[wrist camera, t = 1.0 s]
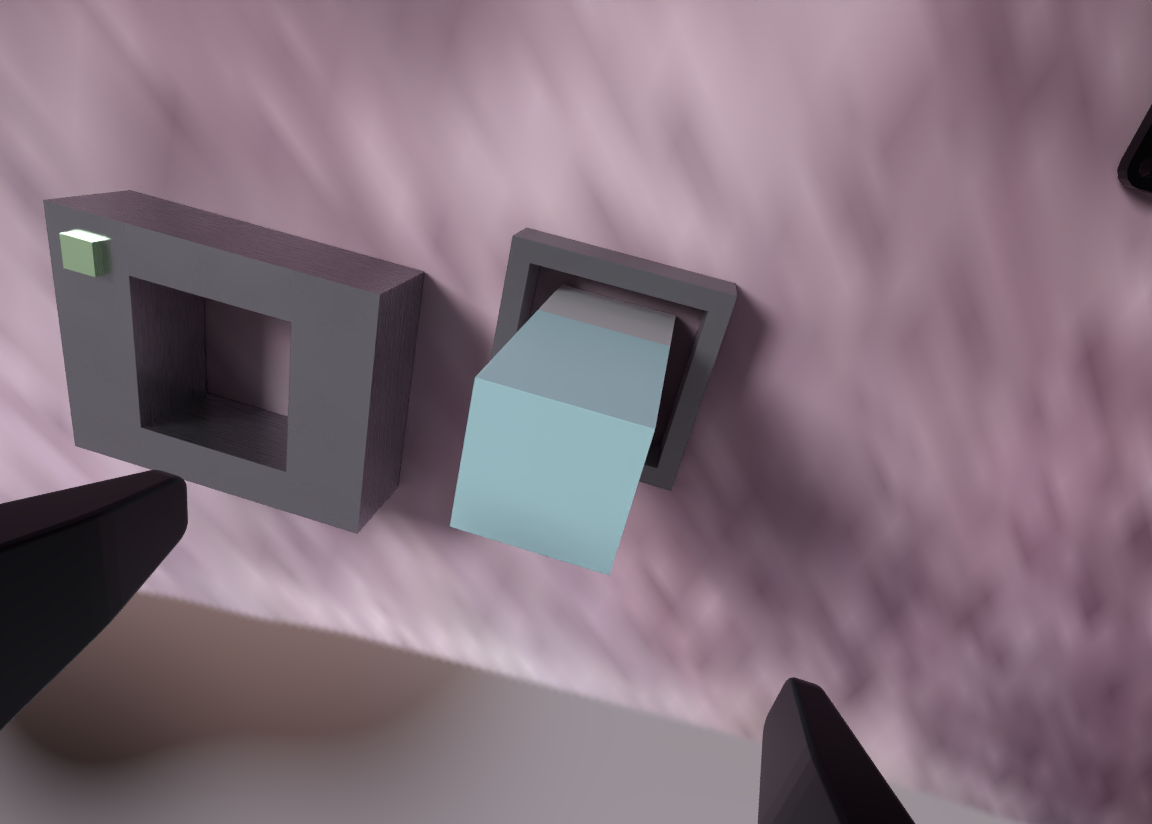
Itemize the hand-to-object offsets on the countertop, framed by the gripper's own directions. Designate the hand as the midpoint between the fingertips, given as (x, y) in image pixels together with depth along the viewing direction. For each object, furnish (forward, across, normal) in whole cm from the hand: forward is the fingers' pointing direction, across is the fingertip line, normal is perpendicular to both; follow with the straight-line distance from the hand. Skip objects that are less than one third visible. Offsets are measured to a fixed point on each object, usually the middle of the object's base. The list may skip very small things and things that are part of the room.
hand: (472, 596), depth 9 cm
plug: (+12, 0, 0) cm, 12 cm away
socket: (+12, +11, +4) cm, 16 cm away
